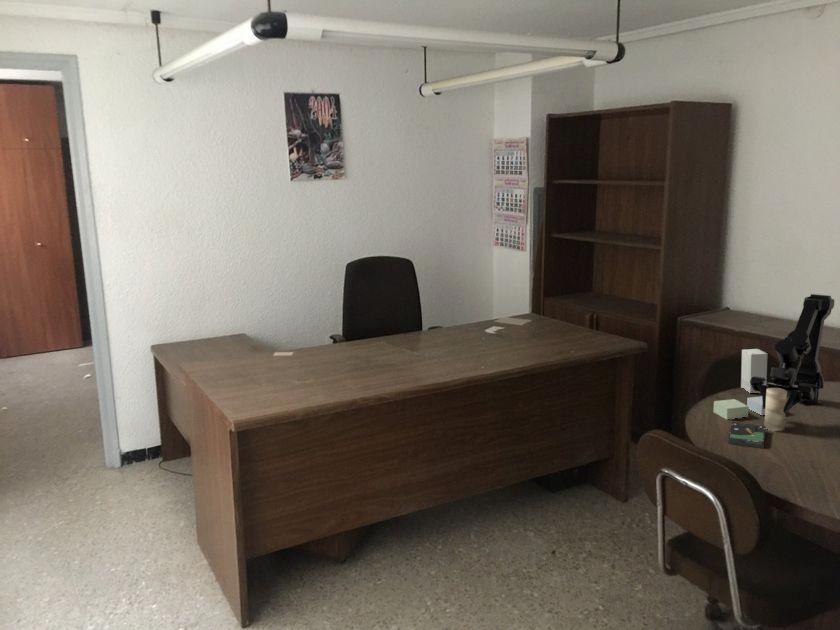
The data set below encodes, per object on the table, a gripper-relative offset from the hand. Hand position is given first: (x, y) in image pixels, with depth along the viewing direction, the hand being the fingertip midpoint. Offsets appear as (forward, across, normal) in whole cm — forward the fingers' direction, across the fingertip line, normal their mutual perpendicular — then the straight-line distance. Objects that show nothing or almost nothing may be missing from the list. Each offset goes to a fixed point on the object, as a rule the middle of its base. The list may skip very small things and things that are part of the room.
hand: (773, 410), depth 231 cm
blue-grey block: (-6, -8, +16) cm, 19 cm away
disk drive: (+14, -4, -3) cm, 15 cm away
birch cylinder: (+4, 0, +6) cm, 7 cm away
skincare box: (-21, -20, +30) cm, 42 cm away
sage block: (+1, -16, +8) cm, 18 cm away
